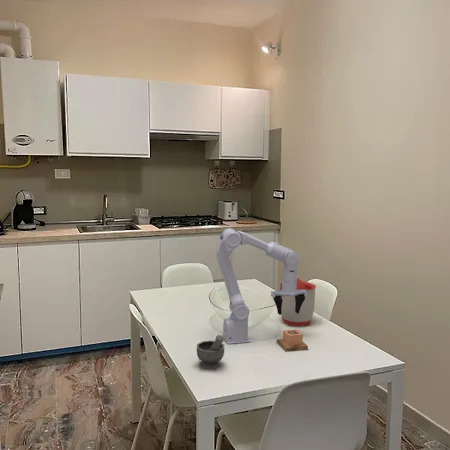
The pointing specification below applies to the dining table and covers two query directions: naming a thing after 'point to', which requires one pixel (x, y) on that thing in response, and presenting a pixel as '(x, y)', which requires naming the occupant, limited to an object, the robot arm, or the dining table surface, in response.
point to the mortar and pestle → (211, 352)
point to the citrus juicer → (306, 308)
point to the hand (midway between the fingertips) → (288, 313)
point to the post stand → (291, 348)
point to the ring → (292, 337)
